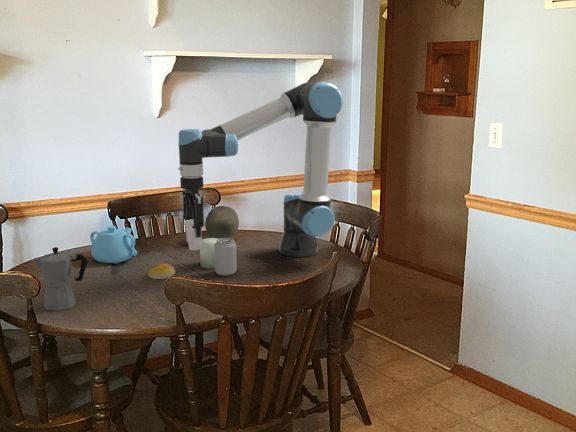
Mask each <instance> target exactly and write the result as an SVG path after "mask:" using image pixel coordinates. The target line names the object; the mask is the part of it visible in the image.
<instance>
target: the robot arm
mask: <svg viewBox="0 0 576 432" xmlns="http://www.w3.org/2000/svg"><path fill="white" fill-rule="evenodd" d="M343 101H344V100H343V95H342V93H341V90H340V89H339V88H338V87H337V86H336V85H334V84H333V83H330V82H329V83H328V82H325V81H307V82H303V83H301V84H298V85H297V86H295V87H293V88H291V89H289V90H287V91H285V92H283V93H281V94H280V96H279V98H277V99H274V100H272V101H270V102H267V103H265V104H263V105H261V106H259V107H257V108H255V109H251V110H250V111H248V112H246V113H243V114H241V115H239V116H238V117H237V116H236V117H235V118H232V119H230V120H227V121H226V122H224V123H221V124H219V125H217V126H214V127H213V128H211V129H210V128H207V129H204V130H201V129H200V128H199V129H198V128H185V129H180V130H179V132H178V143H177V144H178V157H179V167H178V171H179V175H180V176H181V177H180V179H179V181H180V189H182V190H183V191H182V192H181V195H182V213H183V215H182V217H183V218H182V219H183V220H184V221H186V220H190V219H193V222H194V226H193V227H192V228H193V239H194V247H196V246H202V239H203V237H202V236H203V235H202V234H203V233H202V232H203V227H205V219H204V215H205V214H204V198H203V196H201V195H200V194H201V193H200V191H199V190H200V189H202V188H204V177H203V175H204V163H203V159H204V158H205V159H206V158H223V157H224V158H225V157H226V158H228V157H235V156H236V155H237V154H238V152H239V141H240V140H242V139H244V138H246V137H248V136H251V135H252V134H254V133H257V132H259V131H261V130H263V129H265V128H268V127H271V126H272V125H275V124H277V123H279V122H281V121H283V120H286V119H288V118H291V119H294V118H297V117H299V116H302V115H303V117H302V122H303V123H305V126H306V137H305V138H306V139H305V154H304V156H305V157H304V173H303V191H302V192H294V193H293V192H291V193H287V194H285V195H284V196H283V203H282V204H283V233H282V236H281V239H280V242H279V245H278V251H279V253H280V254H281V255H284V256H287V257H293V258H306V257H312V256H315V255H317V254H318V253H319V245H318V242H317V238H318V237H323V236H325V235H327V234H328V233H329V232H330V231H331V230H332V229H333V227H334V224H335V221H336V220H335V214H334V212H333V210H332V209H331V204H332V203H331V201H332V198H331V196H329V195H328V182H329V166H330V153H331V152H330V151H331V139H332V138H331V135H332V128H333V126H334V125H335V124H336V123H337V115H338V114H339V113H340V112H341V110H342V108H343V104H344V102H343ZM186 236H187V234H186ZM316 237H317V238H316ZM186 242H187V243H188V240H187V239H186Z"/></svg>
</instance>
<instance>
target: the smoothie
mask: <svg viewBox="0 0 576 432" xmlns="http://www.w3.org/2000/svg"><path fill="white" fill-rule="evenodd" d="M183 225H184V226H185V227H184V228H185V233H186V234H187V235H186V241H187V240H188V242H187V244H188V249H189V250H190V251H200V246H196V247H194V239H193V228H192V227H193V226H194V222H193V219H190V220H186V221H185V220H184V221H183Z"/></svg>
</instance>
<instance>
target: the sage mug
mask: <svg viewBox="0 0 576 432" xmlns="http://www.w3.org/2000/svg"><path fill="white" fill-rule="evenodd" d="M217 239H218V238H210V237H206V238H202V246H200V249H199V266H200V267H201V268H203V267H204V269H215V257H214V244H215V243H216V240H217Z"/></svg>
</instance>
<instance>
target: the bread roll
mask: <svg viewBox="0 0 576 432" xmlns="http://www.w3.org/2000/svg"><path fill="white" fill-rule="evenodd" d="M175 274H176V270H175V268H174V267H173V266H172V265H171V264H169V263H166V262H165V263H159V264H157V265H156V266H154V267H152V268H150V269H149V271H148V272H147V275H148V277H149V278H150V279H152V280H156V279H161V280H167V278H168V279H170V278H172V277H173V276H175ZM172 275H173V276H172ZM171 276H172V277H171ZM169 277H170V278H169Z"/></svg>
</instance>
